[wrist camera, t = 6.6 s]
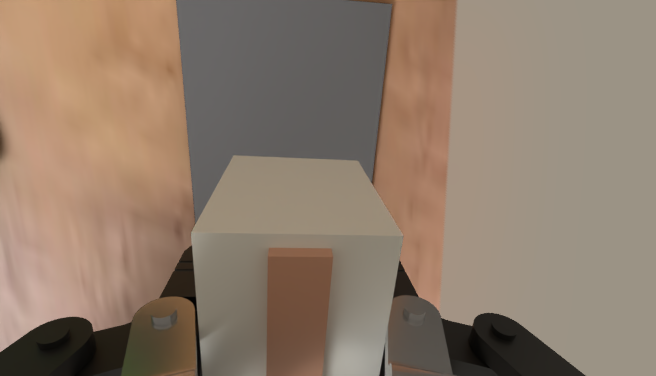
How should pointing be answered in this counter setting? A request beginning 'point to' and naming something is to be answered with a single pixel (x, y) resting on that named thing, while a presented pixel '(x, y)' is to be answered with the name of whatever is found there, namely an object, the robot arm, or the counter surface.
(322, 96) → the rubber mat
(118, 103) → the counter surface
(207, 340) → the block
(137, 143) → the counter surface
